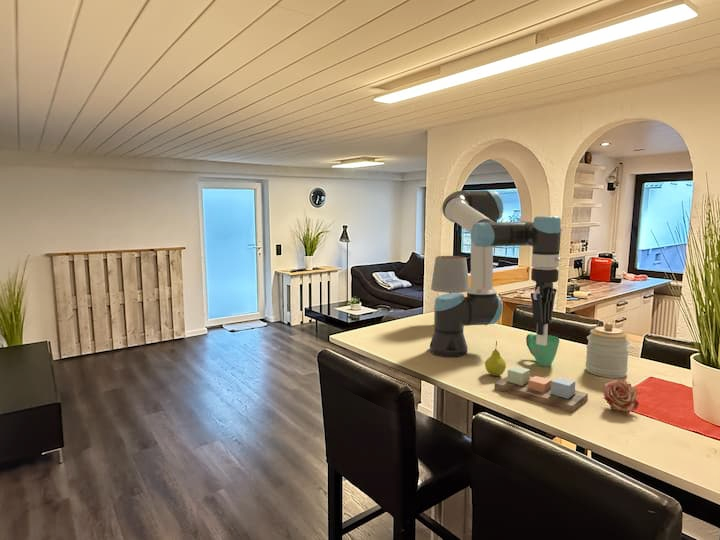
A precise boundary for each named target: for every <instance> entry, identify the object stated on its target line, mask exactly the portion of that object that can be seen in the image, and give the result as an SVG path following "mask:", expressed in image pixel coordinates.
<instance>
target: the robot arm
mask: <svg viewBox="0 0 720 540" xmlns="http://www.w3.org/2000/svg"><path fill="white" fill-rule="evenodd" d="M441 210H442V214H443V215H444V217H445V218H446V219H447V220H448V221H450V222H451V223H456V224H458V225H459V226H460V227H462V229H464V230H465V231H467V232H468V233H469V234H470V289H469V290H468V291H467V292H466V296H465V294H463V293H462V292H460V293H443V294H440V295H438V296H437V297H435V299H434V307H433V310H434V311H433V312H434V314H433V315H434V316H433V317H434V319H433V320H434V321H433V324H434V325H433V327H434V328H433V331H434V332H433V335H432V337H431V341H430V343H429V352H430V353H431V354H433V355H436V356H440V357H449V358H455V357H457V358H458V357H461V356H462V357H463V356H465V355H467V354H468V348H469V347H468V344H467V341H466V337H465V335H464V329H465V327H466V326H489V325H495V324H497V323H498V321H499V320H500V319H501V317H502V313H503V303H502V298H501V297H500V296H499V295H497V291H496V290H495V289H494V287H493V286H494V282H493V281H494V280H493V278H494V273H493V271H494V269H493V268H494V267H493V266H494V264H493V263H494V262H493V261H494V247H519V246H520V247H521V246H522V247H525V246H527V247H532V251H531V252H532V253H531V254H532V255H531V267H532V268H531V271H530V272H531V273H530V274H531V275H530V277H531V279H530V280H532V281H533V282H535V286H534V292H531V293H530V300H531V307H532V308H531V309H532V320H533V321H532V322H533V324H536V334H535V335H536V344H539V345H543V346H545V345H547V335H548V331H549V330H548V329H549V328H548V327H549V324H550V325H551V324H552V321H551V320H552V319H553V311H554V305H555V300H556V299H555V297H556V294H557V288H554V283H557V282H558V281H559V271H560V270H559V269H558V268H559V266H560V262H561V257H560V251H561V249H560V248H561V236H562V227H561V226H562V225H561V224H562V222H561V221H562V219H561V217H560V216H557V215H552V216H551V215H539V216H538V215H537V216H534V219H533V221H532V222H531V221H528V220H527V221H524V220H523V221H512V222H511V221H509V222H508V221H505V222H503V221H502V222H501V221H499V220H501V218H502V217H503V214H504V202H503V199H502V197H501V195H500V194H499V193H498V192H497V191H495V190H489V189H484V190H458V191H454V192H452V193H450V194H449V195H448V196H446V198H445V199H444V200H443V202H442V206H441ZM498 221H499V222H498Z"/></svg>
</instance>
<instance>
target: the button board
mask: <svg viewBox="0 0 720 540" xmlns="http://www.w3.org/2000/svg"><path fill="white" fill-rule="evenodd" d="M531 378H532V377H530V379H531ZM528 383H529V382H528ZM528 383H526V384H524V385H523V386H521V385H517V384H514V383H510V382H507V376H505V377H503V378H502V379H500V380H497V381H496V382H494V390H497V391H500V392H503V393H506V394H510V395H513V396H516V397H518V398H519V397H520V398H523V399H525V400H529V401H532V402H535V401H536V403H539V404H542V405H544V406H545V405H546V406H548V407H552V408H555V409H559V410H563V411H565V412H568V413H574V412H575V411H576V410H577V409H578V408H580V407H581V406H583V404H584V403H586V402H587V401H588V400H589V399H588V396H589V393H586V392H584V391H580V390H576V389H575V394H574V395H573V396H571V397H570V398H569V399H566V398H563V397H559V396H556V395H552V394H551V390H549V391H548V392H546V393H542V392H538V391H535V390H531V389H528Z"/></svg>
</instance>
